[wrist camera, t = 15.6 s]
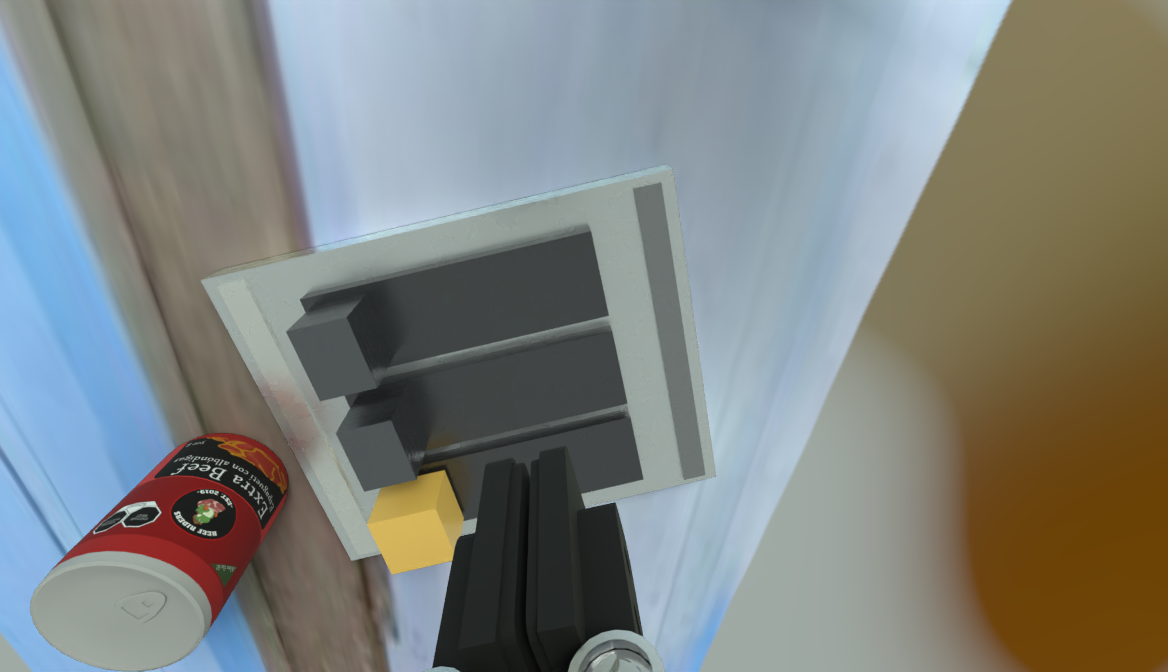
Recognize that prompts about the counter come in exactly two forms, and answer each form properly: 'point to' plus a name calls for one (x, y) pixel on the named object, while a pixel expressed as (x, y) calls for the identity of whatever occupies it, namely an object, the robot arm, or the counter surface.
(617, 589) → the robot arm
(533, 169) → the counter surface
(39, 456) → the counter surface
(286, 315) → the panel
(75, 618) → the canned food
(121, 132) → the counter surface
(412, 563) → the mustard yellow cube
